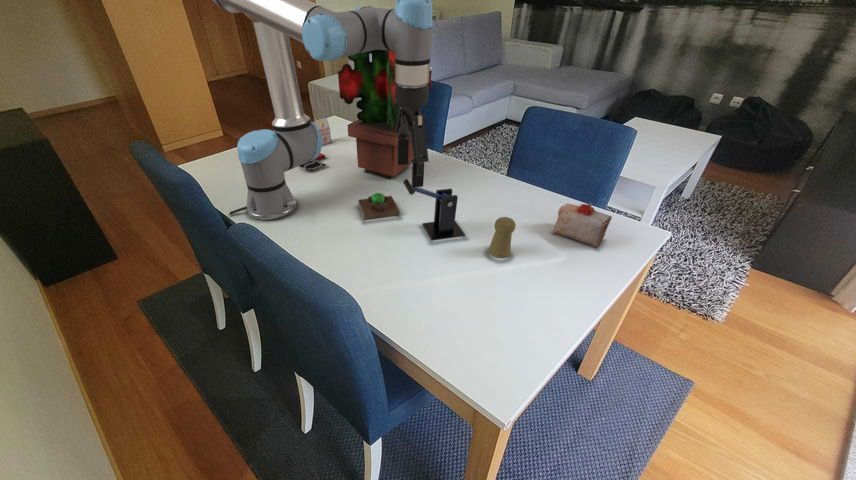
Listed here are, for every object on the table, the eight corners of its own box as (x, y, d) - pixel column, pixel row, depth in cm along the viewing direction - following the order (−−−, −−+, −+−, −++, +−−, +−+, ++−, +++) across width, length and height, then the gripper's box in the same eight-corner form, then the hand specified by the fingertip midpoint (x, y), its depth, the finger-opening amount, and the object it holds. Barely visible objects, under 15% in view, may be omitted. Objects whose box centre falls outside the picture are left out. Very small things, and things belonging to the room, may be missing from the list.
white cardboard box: (313, 144, 167) (310, 120, 161) (326, 140, 170) (324, 116, 164) (318, 146, 165) (315, 122, 158) (331, 142, 168) (329, 118, 162)
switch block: (364, 222, 118) (363, 210, 115) (358, 207, 125) (357, 194, 122) (399, 218, 119) (399, 205, 116) (391, 203, 127) (391, 190, 124)
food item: (548, 233, 112) (557, 203, 106) (558, 222, 117) (567, 193, 110) (596, 250, 106) (609, 219, 99) (605, 238, 110) (618, 207, 104)
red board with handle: (303, 174, 143) (336, 163, 151) (302, 167, 141) (335, 156, 149) (264, 152, 160) (295, 144, 168) (262, 146, 158) (294, 137, 166)
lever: (407, 195, 99) (411, 186, 98) (401, 184, 103) (405, 176, 102) (452, 209, 105) (456, 201, 104) (444, 199, 109) (448, 191, 108)
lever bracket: (431, 243, 109) (434, 203, 101) (422, 226, 116) (424, 187, 107) (464, 238, 111) (470, 198, 102) (453, 222, 117) (458, 183, 109)
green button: (373, 204, 118) (372, 199, 117) (370, 198, 121) (370, 193, 120) (385, 203, 118) (385, 198, 117) (382, 197, 121) (382, 192, 120)
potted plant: (425, 165, 149) (434, 27, 120) (396, 187, 135) (397, 37, 106) (378, 153, 158) (375, 23, 129) (346, 173, 144) (334, 31, 115)
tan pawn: (505, 264, 101) (514, 228, 94) (483, 256, 104) (490, 221, 97) (512, 252, 105) (521, 217, 98) (491, 245, 108) (498, 211, 101)
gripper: (447, 98, 76) (439, 195, 90) (412, 70, 95) (410, 154, 108) (411, 101, 75) (408, 199, 89) (383, 73, 93) (384, 157, 107)
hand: (409, 174), depth 99 cm, fingers open, 13 cm apart
